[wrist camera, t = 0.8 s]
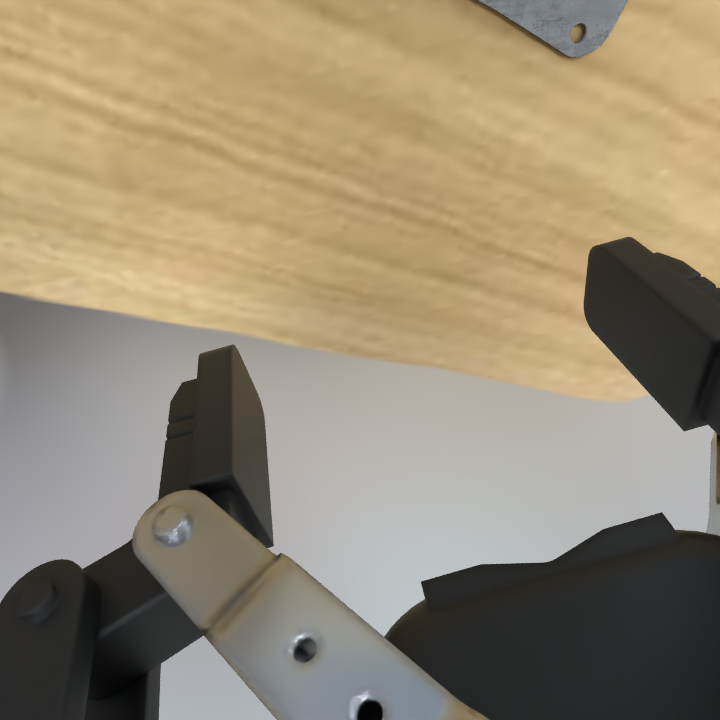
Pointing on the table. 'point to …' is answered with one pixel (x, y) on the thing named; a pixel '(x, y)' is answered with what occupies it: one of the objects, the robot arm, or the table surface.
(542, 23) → the cleaver
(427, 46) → the table surface
